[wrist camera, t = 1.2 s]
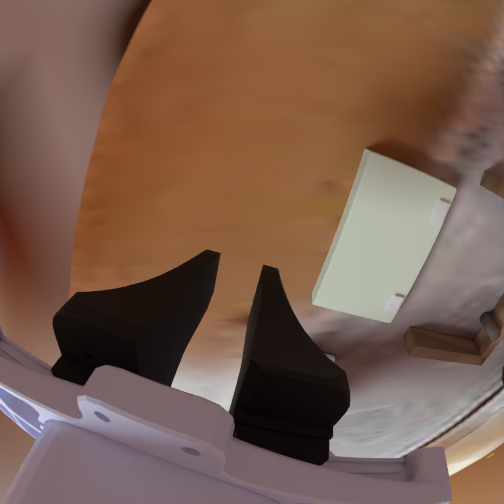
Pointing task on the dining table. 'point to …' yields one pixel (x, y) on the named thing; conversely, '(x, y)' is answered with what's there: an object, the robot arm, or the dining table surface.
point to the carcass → (457, 348)
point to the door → (382, 238)
